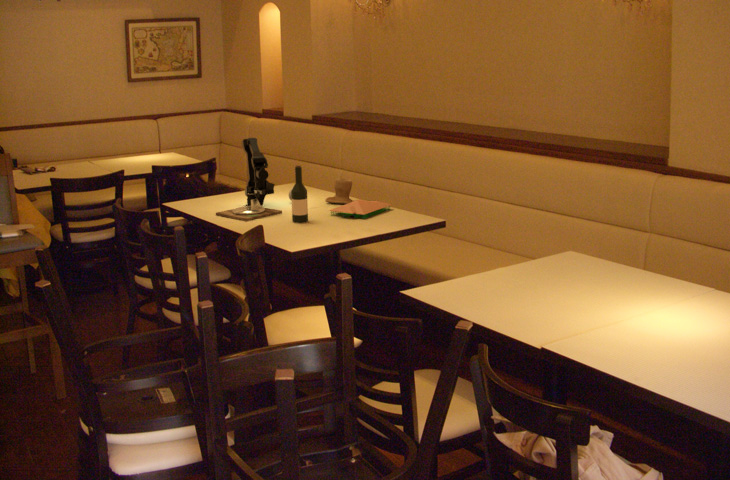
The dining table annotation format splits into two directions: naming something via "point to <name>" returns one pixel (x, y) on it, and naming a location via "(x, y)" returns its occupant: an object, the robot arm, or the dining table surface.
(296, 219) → the wine bottle
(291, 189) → the donut
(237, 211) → the dial
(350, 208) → the house
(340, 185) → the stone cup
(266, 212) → the board
